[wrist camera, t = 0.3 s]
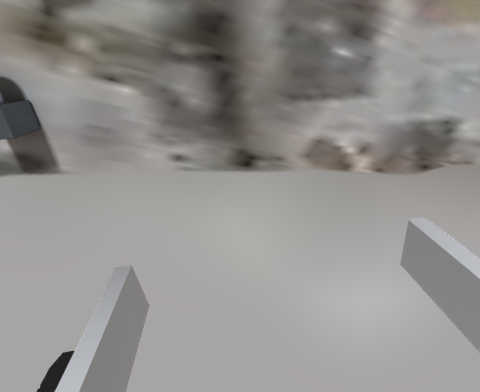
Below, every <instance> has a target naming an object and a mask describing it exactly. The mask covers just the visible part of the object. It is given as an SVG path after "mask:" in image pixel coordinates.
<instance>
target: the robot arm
mask: <svg viewBox="0 0 480 392" xmlns="http://www.w3.org/2000/svg"><path fill="white" fill-rule="evenodd" d="M401 266H402V267H403V268H404V269H405V270H406V271H407V272H408V273H409V274H410V275H411V277H412V278H413V279H414V280H415V281H416V282H417V283H418V284H419V285H420V287H421V288H422V289H423V290H424V291H425V292H426V293H427V294H428V295H429V297H430V298H431V299H432V300H433V301H434V302H435V303H436V304H437V306H438V307H439V308H440V309H441V310H442V311H443V312H444V313H445V314H446V315H447V317H448V318H449V319H450V320H451V321H452V322H453V323H454V324H455V325H456V327H457V328H458V329H459V330H460V331H461V332H462V333H463V334H464V335H465V336H466V338H467V339H468V340H469V341H470V342H471V343H472V344H473V345H474V346H475V348H476V349H477V350H478V351H479V352H480V258H478V257H477V256H476V255H474V254H473V253H472V252H470V251H469V250H468V249H466V248H465V247H464V246H462V245H461V244H460V243H458V242H457V241H456V240H454V239H453V238H452V237H450V236H449V235H448V234H446V233H445V232H444V231H442V230H441V229H440V228H438V227H437V226H436V225H434V224H433V223H432V222H430V221H429V220H428V219H426V218H425V217H423V218H417V219H411V220H409V221H408V226H407V232H406V237H405V242H404V248H403V253H402V259H401ZM148 308H149V304H148V302H147V300H146V297H145V295H144V293H143V290H142V288H141V286H140V283H139V281H138V279H137V276H136V274H135V272H134V270H133V267H132V266H131V265H130V266H124V267H118V268H115V270H114V272H113V274H112V276H111V278H110V280H109V282H108V284H107V286H106V288H105V290H104V292H103V294H102V296H101V298H100V300H99V302H98V304H97V307H96V309H95V311H94V313H93V315H92V317H91V319H90V321H89V323H88V325H87V327H86V329H85V331H84V333H83V335H82V337H81V339H80V341H79V343H78V345H77V347H76V350H75V351H70V352H65V353H62V354H61V356H60V357H59V358H58V359H57V360H56V361H55V362H54V364H53V365H52V366H51V367H50V368H49V370H48V372H47V374H46V376H45V378H44V379H43V381H42V383H41V385H40V386H41V387H40V389H38V390H37V392H126V388H127V385H128V381H129V378H130V374H131V370H132V367H133V363H134V359H135V356H136V352H137V348H138V345H139V341H140V338H141V334H142V330H143V327H144V323H145V319H146V316H147V312H148Z"/></svg>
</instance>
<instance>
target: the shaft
mask: <svg viewBox="0 0 480 392" xmlns="http://www.w3.org/2000/svg"><path fill="white" fill-rule="evenodd" d="M38 129H41V128H40V126H39V123H38V121H37V118H36V116H35V114H34V111H33V109H32V106H31V104H30V101H29V100H24V101H11V102H5V100H4V97H3V95H2V93H1V91H0V140H1V139H13V138H17V137H19V136H22V135H25V134H27V133H30V132H33V131H35V130H38Z"/></svg>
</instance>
